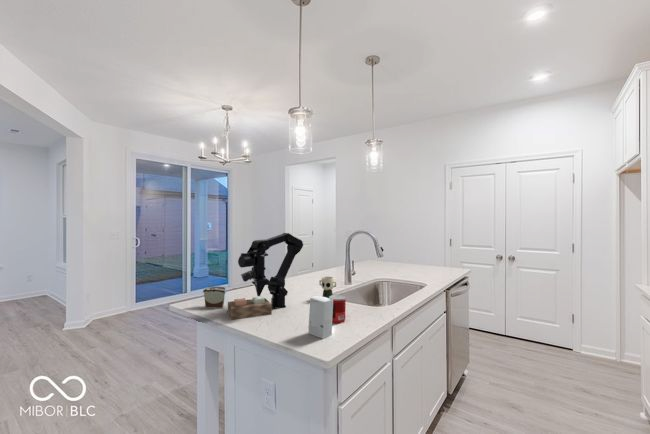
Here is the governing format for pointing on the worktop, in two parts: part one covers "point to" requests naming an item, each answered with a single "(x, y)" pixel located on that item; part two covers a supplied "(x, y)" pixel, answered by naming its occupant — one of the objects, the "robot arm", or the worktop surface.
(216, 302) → the food container
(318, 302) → the skincare box
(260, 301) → the sage key
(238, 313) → the key console
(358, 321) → the worktop surface
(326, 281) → the character mug
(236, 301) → the terracotta key
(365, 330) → the worktop surface
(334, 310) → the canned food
